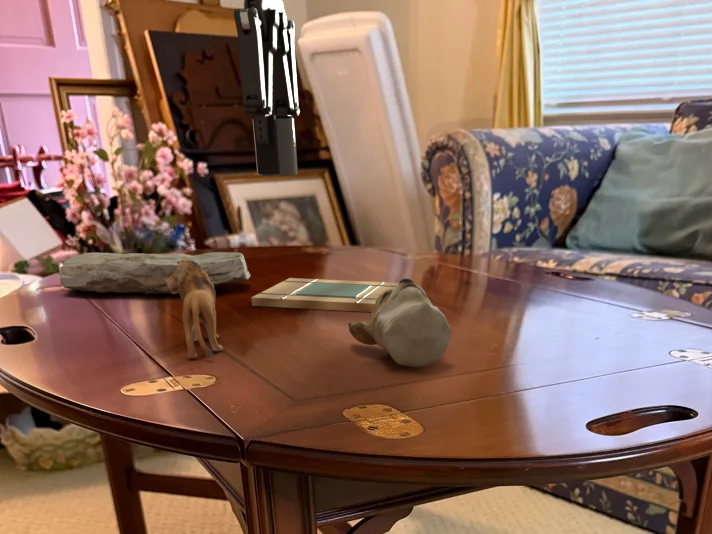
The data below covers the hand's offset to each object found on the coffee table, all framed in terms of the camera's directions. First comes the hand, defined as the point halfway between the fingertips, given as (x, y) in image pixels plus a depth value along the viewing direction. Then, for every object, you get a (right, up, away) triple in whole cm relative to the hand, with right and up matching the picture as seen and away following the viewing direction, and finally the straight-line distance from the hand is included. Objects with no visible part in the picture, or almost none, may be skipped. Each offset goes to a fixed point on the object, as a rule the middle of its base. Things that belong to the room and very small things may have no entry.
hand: (277, 172), depth 99 cm
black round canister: (0, 0, 0) cm, 0 cm away
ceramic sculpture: (+17, -27, -13) cm, 35 cm away
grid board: (+6, -12, +15) cm, 20 cm away
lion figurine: (-8, -25, -10) cm, 28 cm away
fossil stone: (-22, -9, +20) cm, 31 cm away
